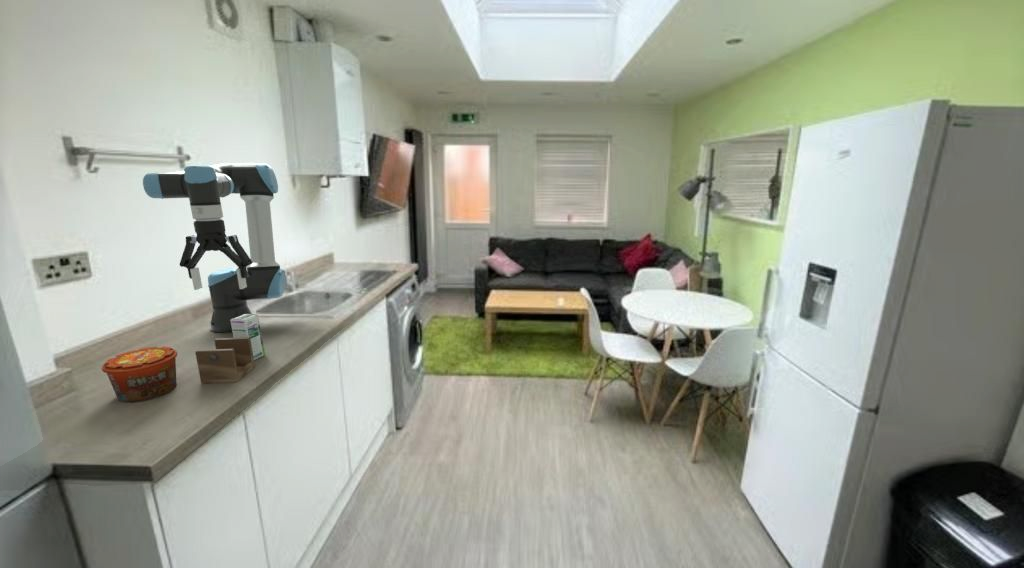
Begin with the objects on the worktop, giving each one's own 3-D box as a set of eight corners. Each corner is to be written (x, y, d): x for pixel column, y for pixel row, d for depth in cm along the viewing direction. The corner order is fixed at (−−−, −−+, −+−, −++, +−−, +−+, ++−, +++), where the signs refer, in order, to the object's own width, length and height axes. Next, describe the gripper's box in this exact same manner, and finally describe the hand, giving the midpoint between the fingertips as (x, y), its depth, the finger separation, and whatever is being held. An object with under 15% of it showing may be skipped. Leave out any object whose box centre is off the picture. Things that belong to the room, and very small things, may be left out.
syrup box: (252, 361, 140) (245, 319, 137) (236, 360, 141) (229, 318, 138) (265, 355, 146) (259, 314, 142) (250, 353, 147) (243, 313, 143)
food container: (180, 395, 119) (173, 359, 116) (103, 412, 111) (93, 373, 108) (186, 374, 132) (179, 341, 129) (117, 387, 124) (108, 352, 121)
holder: (223, 367, 137) (218, 337, 134) (256, 366, 137) (251, 336, 135) (199, 384, 125) (193, 352, 123) (235, 383, 126) (229, 351, 123)
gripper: (155, 221, 124) (170, 292, 129) (244, 220, 125) (255, 291, 130) (174, 218, 131) (187, 285, 136) (258, 217, 132) (268, 284, 137)
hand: (220, 288), depth 133 cm, fingers open, 13 cm apart
